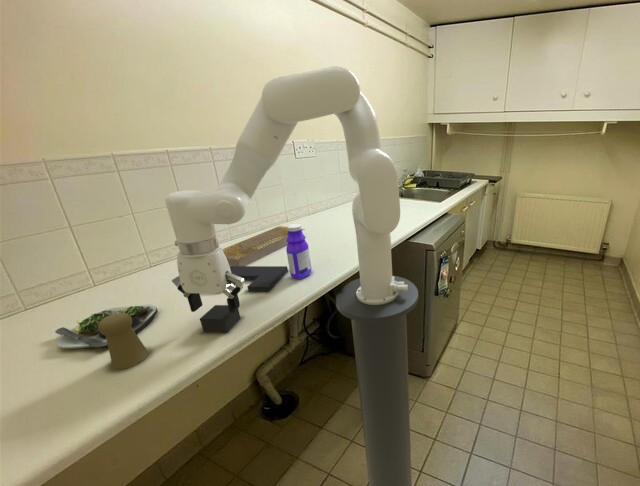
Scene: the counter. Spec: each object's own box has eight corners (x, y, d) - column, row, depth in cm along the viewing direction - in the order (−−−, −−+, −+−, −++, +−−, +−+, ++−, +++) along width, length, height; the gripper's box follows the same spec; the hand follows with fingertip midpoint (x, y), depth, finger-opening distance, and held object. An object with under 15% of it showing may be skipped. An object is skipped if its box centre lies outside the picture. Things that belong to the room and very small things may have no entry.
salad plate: (25, 359, 69) (14, 342, 67) (93, 313, 85) (86, 298, 84) (118, 352, 70) (111, 335, 69) (167, 308, 87) (162, 293, 85)
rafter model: (239, 269, 109) (235, 253, 107) (211, 263, 114) (206, 248, 112) (305, 236, 139) (303, 223, 137) (281, 233, 144) (278, 220, 142)
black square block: (240, 318, 82) (237, 305, 80) (227, 332, 76) (223, 319, 75) (218, 317, 82) (215, 305, 81) (203, 332, 76) (199, 318, 75)
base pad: (288, 270, 107) (287, 266, 107) (268, 291, 94) (267, 286, 94) (232, 270, 108) (231, 266, 108) (205, 291, 95) (204, 286, 95)
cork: (151, 346, 72) (134, 305, 68) (145, 363, 67) (127, 320, 63) (117, 355, 69) (98, 313, 65) (108, 373, 64) (87, 329, 60)
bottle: (301, 269, 108) (293, 221, 102) (315, 271, 106) (308, 223, 100) (287, 278, 102) (278, 228, 95) (302, 281, 100) (293, 230, 94)
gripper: (149, 251, 68) (171, 317, 74) (225, 252, 67) (241, 319, 73) (175, 239, 75) (193, 300, 81) (244, 240, 74) (257, 302, 80)
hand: (216, 309), depth 77 cm, fingers open, 9 cm apart
